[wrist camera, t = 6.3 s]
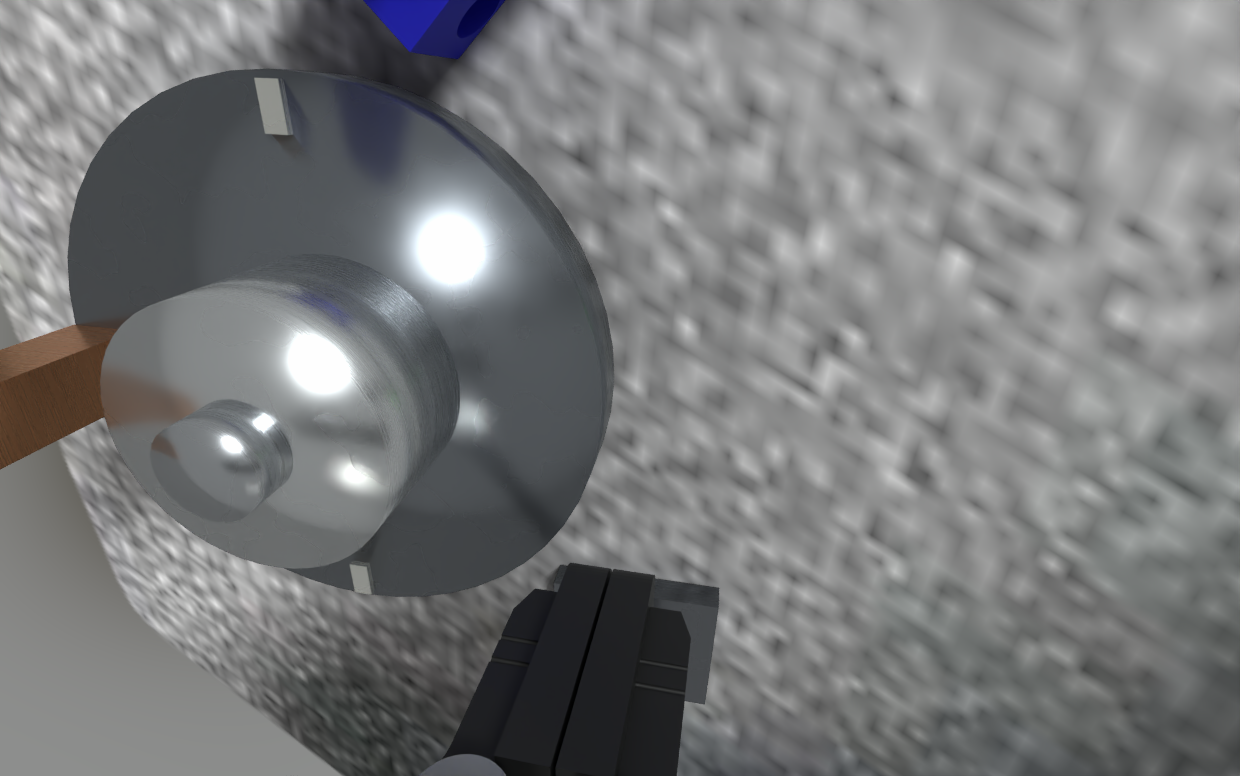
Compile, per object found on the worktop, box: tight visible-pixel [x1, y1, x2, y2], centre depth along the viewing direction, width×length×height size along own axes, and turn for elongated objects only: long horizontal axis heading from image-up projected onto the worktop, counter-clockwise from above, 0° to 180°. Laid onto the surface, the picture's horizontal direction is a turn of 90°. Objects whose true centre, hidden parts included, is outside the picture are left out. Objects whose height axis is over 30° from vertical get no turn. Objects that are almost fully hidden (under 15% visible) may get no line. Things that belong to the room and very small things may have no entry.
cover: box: [100, 254, 460, 569], centre depth 15 cm, size 7×7×5 cm
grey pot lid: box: [0, 69, 614, 597], centre depth 16 cm, size 16×16×8 cm
